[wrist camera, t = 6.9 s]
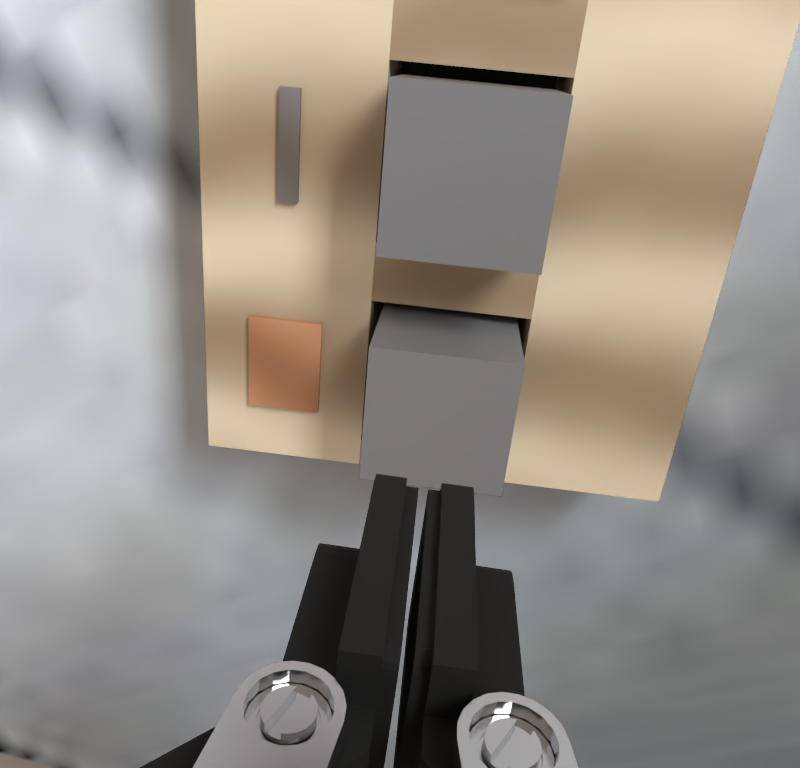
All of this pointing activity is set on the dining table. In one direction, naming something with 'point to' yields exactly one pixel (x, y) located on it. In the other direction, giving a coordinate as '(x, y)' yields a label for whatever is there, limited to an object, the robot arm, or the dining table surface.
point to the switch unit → (466, 286)
